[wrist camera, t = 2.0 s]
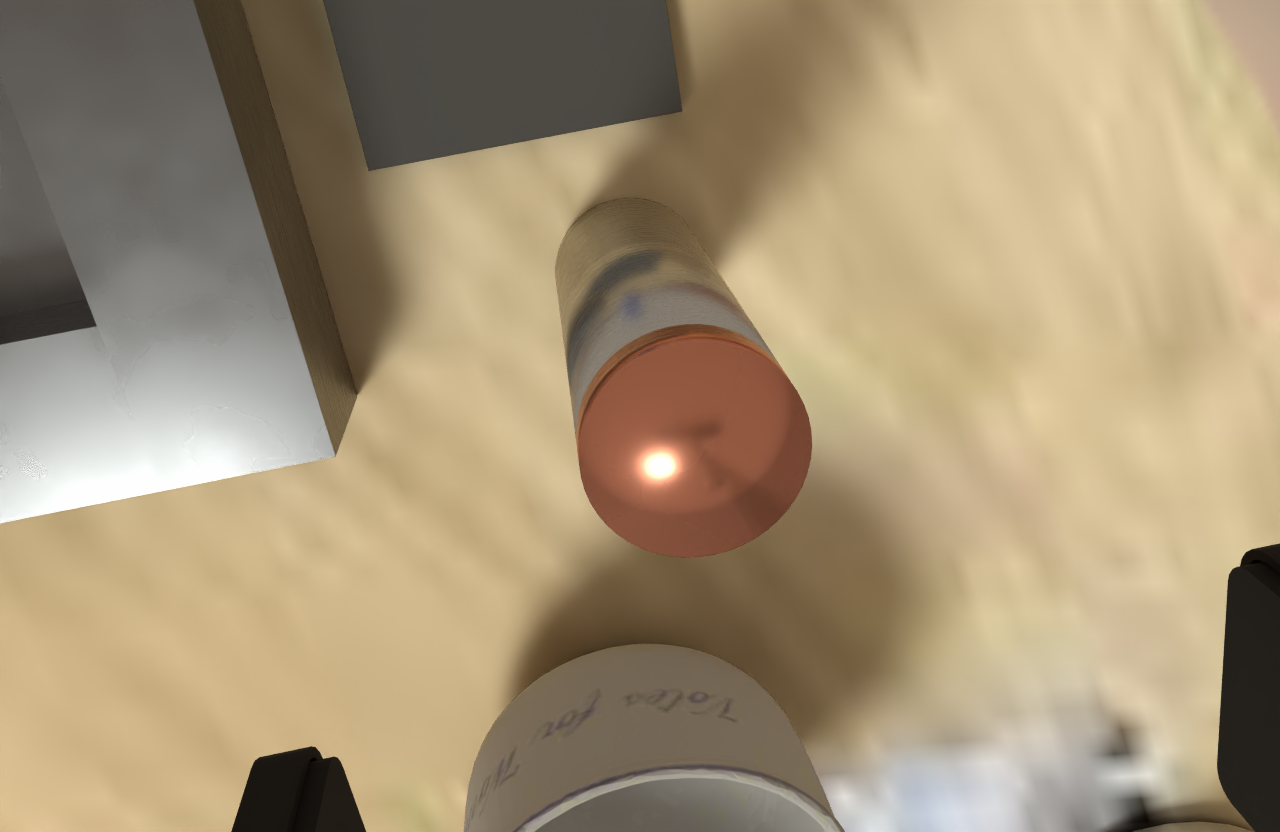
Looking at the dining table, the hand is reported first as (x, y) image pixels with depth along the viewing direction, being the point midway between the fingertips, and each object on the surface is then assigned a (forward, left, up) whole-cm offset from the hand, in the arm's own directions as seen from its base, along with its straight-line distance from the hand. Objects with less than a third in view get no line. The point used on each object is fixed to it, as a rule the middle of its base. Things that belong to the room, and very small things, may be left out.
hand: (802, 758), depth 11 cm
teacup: (+4, +16, -20) cm, 26 cm away
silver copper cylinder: (0, 0, -20) cm, 20 cm away
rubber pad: (+2, -8, -20) cm, 21 cm away
